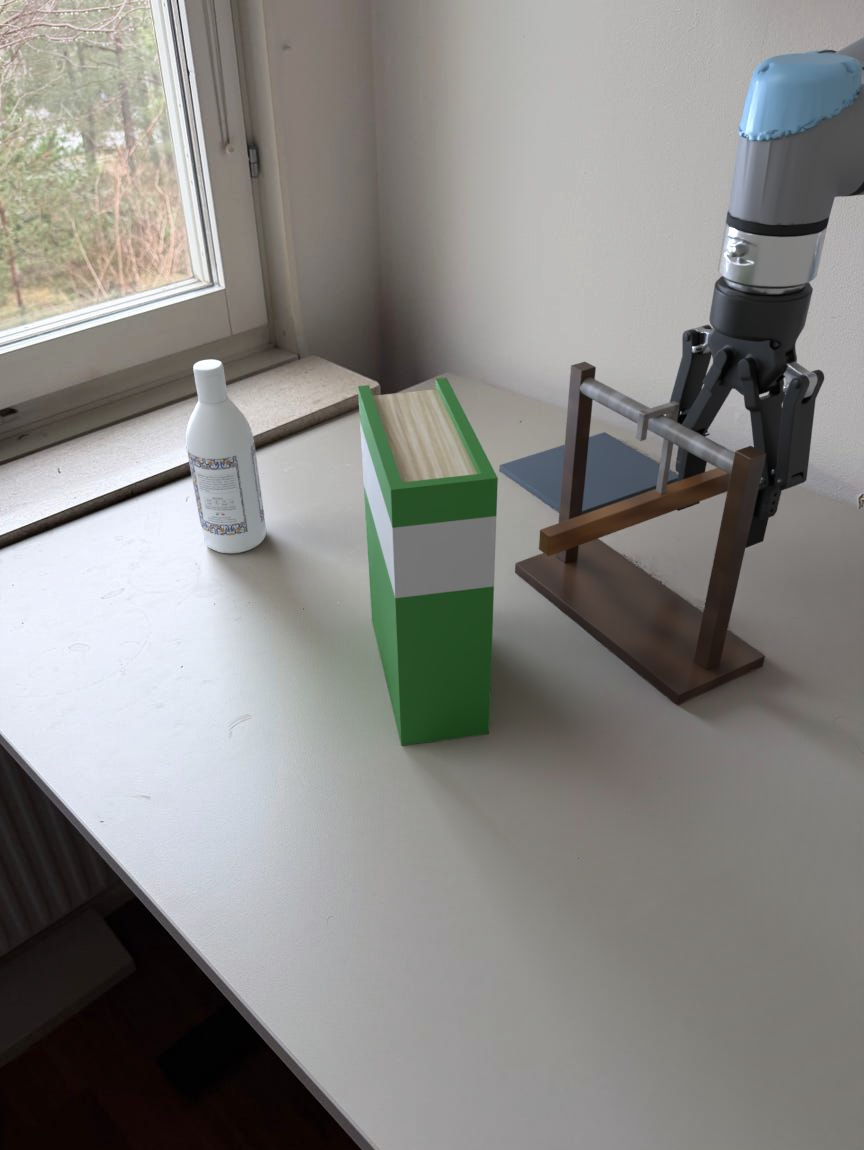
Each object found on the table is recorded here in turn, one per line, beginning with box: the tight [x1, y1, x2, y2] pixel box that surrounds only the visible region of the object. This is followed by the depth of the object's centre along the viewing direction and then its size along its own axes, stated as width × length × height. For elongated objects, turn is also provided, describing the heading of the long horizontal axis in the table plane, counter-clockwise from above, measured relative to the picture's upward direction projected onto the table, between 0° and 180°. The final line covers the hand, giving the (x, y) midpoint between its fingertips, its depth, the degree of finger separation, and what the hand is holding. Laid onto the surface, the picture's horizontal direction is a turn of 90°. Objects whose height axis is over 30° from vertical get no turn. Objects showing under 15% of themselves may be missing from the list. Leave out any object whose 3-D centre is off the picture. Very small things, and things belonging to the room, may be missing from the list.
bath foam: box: [185, 359, 267, 554], centre depth 101 cm, size 7×7×20 cm
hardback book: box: [357, 377, 499, 746], centre depth 80 cm, size 18×7×24 cm, turn 9°
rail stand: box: [514, 361, 766, 706], centre depth 86 cm, size 10×24×22 cm, turn 29°
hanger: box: [538, 401, 730, 556], centre depth 83 cm, size 22×1×10 cm, turn 119°
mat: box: [498, 431, 679, 515], centre depth 115 cm, size 16×14×1 cm
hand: (716, 523), depth 92 cm, fingers open, 8 cm apart
